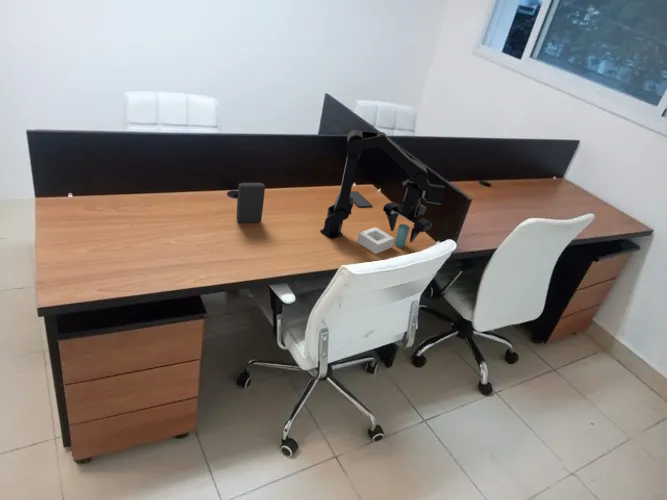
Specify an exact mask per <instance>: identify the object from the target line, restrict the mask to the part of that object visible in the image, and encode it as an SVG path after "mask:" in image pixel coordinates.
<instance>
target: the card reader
mask: <svg viewBox="0 0 667 500" xmlns="http://www.w3.org/2000/svg"><path fill="white" fill-rule="evenodd" d="M237 187H238V189H237V200H236V202H237V203H236V222H237V223H240V224H244V223H245V224H246V223H251V222H252V223H260V222H261V221H262V217H263V208H264V202H265V201H264V200H265V192H266V191H265V189H266V186H265V184H264V183H262V182H241V183H238V186H237Z"/></svg>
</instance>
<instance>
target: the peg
mask: <svg viewBox="0 0 667 500" xmlns="http://www.w3.org/2000/svg"><path fill="white" fill-rule="evenodd" d="M409 232H410V226H409V225H407V224H405V223H401V224H399V225H398V229H397V232H396V236H395V238H394V241H393V244H394V246H395V247H397V248H399V249H400V248H401V249H402V248H405V246H406V243H407V242H406V241H407V239H408V236H409Z"/></svg>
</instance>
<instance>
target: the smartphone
mask: <svg viewBox="0 0 667 500" xmlns="http://www.w3.org/2000/svg"><path fill="white" fill-rule="evenodd" d="M350 197H352V198H353V205H354V206H356V208H359V209H360V208H361V209H363V208H373V203H371V202H370V201H368V200H367V198H365V197H364V196H363V195H362V194H361V193H360V192H359V191H356V190H355V191H354V190H353V191H352V190H351V193H350Z"/></svg>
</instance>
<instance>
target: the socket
mask: <svg viewBox="0 0 667 500" xmlns="http://www.w3.org/2000/svg"><path fill="white" fill-rule="evenodd" d="M394 242H395V238H394V237H393V236H391V235H390V234H387V233H386V232H385V231H383V230H381V229H380V228H378V227H377V226H374V227H372V228H369V229H366V230H364V231H360V232H359V233H358V236H357V240H356V243H358V244H359V245H361V246H362V247H364V248H365V249H367V250H368V251H370V252H371V253H373V254H375V255H377V254H379V253H382V252H384V251H386V250H389V249H391V248H392V247H393V244H394Z"/></svg>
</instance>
